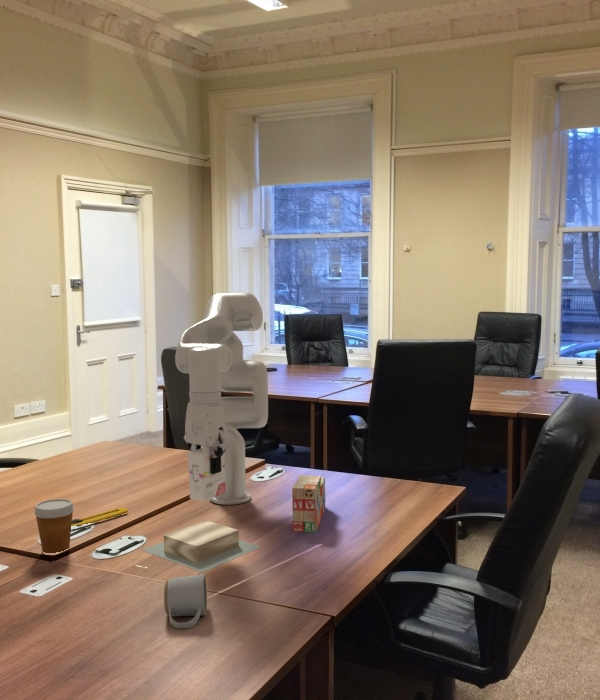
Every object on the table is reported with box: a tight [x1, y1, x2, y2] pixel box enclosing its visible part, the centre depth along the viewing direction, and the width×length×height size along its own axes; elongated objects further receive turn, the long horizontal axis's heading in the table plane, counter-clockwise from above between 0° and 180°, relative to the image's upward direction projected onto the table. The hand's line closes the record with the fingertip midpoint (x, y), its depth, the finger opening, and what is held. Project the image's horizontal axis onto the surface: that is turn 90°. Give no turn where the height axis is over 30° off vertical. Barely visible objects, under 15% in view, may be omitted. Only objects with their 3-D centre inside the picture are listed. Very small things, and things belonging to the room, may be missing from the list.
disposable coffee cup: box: [33, 498, 75, 553], centre depth 175 cm, size 10×10×12 cm
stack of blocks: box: [291, 474, 326, 533], centre depth 197 cm, size 21×6×12 cm, turn 171°
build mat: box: [141, 539, 262, 574], centre depth 176 cm, size 22×20×1 cm
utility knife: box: [71, 507, 129, 526], centre depth 198 cm, size 7×22×2 cm, turn 138°
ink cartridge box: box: [187, 441, 225, 502], centre depth 174 cm, size 9×5×15 cm, turn 149°
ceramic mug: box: [163, 573, 208, 629], centre depth 140 cm, size 11×8×8 cm
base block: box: [163, 519, 240, 563], centre depth 175 cm, size 12×14×4 cm
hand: (207, 470), depth 174 cm, fingers closed on ink cartridge box, 5 cm apart
